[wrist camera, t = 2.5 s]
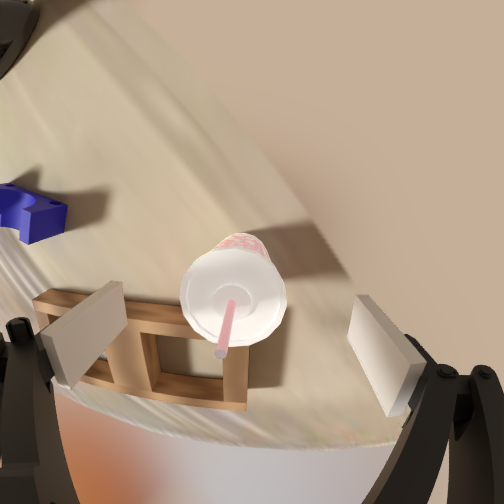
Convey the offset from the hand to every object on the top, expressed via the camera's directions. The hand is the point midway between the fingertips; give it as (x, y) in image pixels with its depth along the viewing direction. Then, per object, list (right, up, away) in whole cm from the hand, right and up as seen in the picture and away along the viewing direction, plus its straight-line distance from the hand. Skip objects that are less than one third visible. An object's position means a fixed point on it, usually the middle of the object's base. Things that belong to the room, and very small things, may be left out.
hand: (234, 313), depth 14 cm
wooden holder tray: (-11, -6, +12) cm, 18 cm away
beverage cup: (0, +3, +10) cm, 10 cm away
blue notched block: (-24, +8, +9) cm, 27 cm away
